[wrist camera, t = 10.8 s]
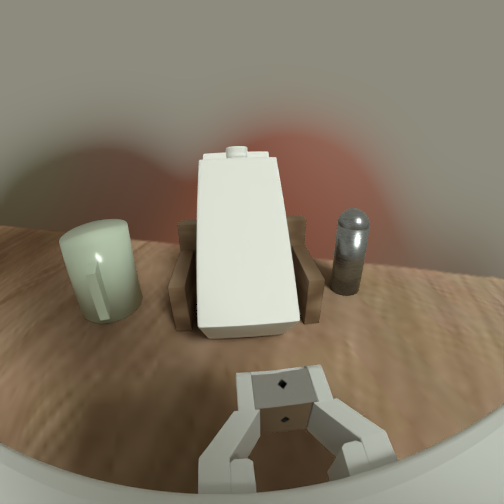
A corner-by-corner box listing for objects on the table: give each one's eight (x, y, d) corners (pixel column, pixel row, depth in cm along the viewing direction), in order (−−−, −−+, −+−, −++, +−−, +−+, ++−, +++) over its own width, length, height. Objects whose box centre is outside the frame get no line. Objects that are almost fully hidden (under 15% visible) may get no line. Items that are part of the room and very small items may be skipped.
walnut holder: (176, 330, 26) (162, 257, 23) (187, 282, 34) (179, 220, 31) (318, 322, 27) (328, 249, 23) (299, 276, 35) (302, 215, 32)
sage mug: (77, 344, 23) (46, 265, 19) (84, 291, 32) (66, 227, 28) (148, 330, 26) (128, 247, 22) (139, 280, 35) (127, 214, 31)
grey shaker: (335, 296, 31) (346, 214, 27) (326, 280, 34) (334, 204, 30) (363, 294, 31) (377, 214, 27) (352, 278, 34) (362, 204, 30)
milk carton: (208, 340, 25) (205, 174, 32) (284, 335, 25) (265, 172, 33) (197, 330, 18) (200, 131, 26) (301, 323, 19) (271, 128, 26)
